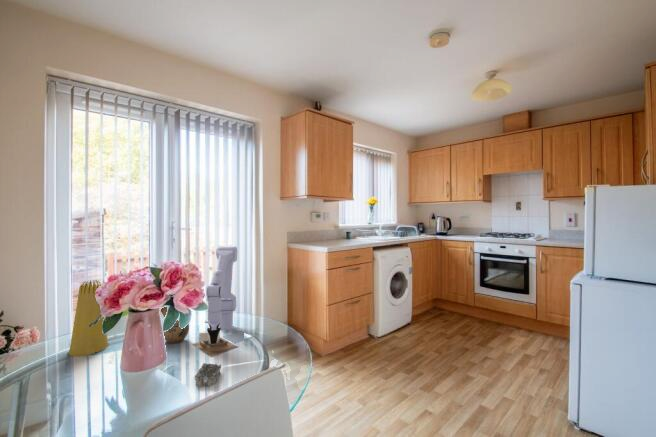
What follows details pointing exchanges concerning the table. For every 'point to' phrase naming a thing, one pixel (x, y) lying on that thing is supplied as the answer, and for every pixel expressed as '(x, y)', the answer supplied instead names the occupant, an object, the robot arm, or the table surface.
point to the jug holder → (215, 347)
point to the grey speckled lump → (210, 370)
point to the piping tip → (87, 323)
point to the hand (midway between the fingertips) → (213, 339)
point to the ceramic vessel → (175, 331)
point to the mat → (235, 336)
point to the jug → (207, 338)
